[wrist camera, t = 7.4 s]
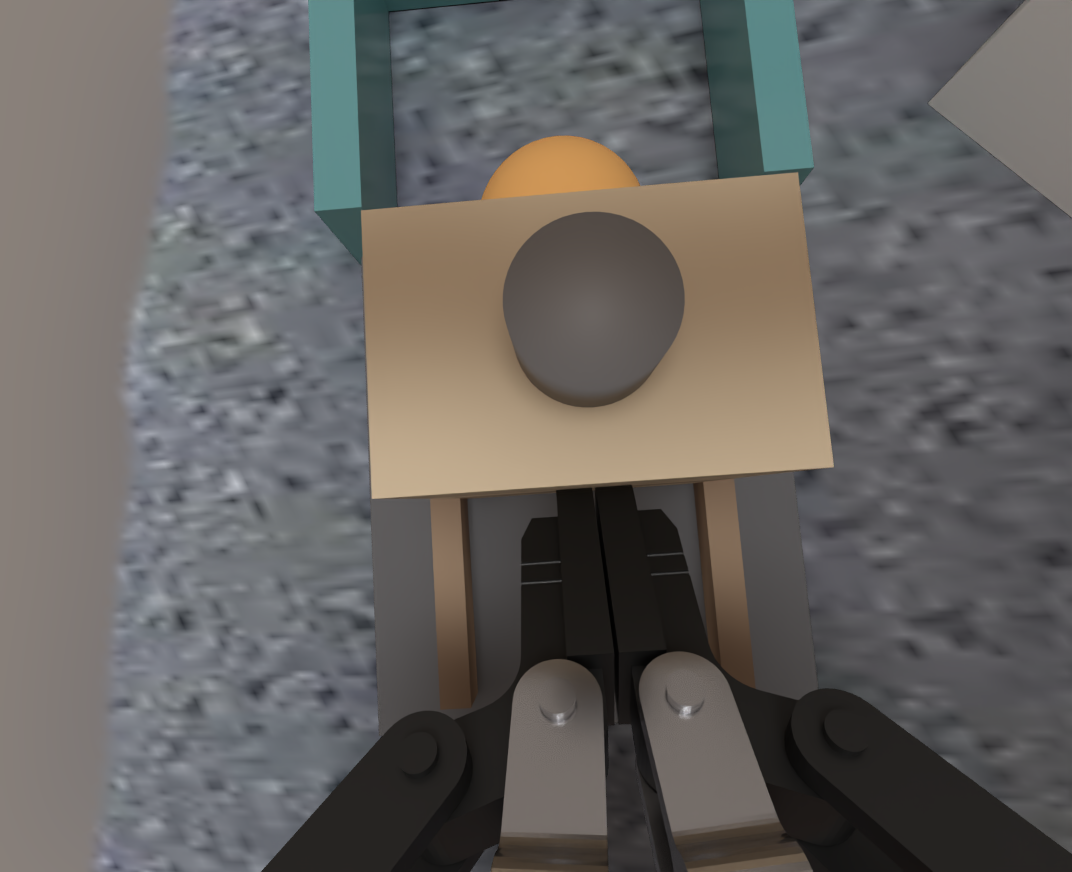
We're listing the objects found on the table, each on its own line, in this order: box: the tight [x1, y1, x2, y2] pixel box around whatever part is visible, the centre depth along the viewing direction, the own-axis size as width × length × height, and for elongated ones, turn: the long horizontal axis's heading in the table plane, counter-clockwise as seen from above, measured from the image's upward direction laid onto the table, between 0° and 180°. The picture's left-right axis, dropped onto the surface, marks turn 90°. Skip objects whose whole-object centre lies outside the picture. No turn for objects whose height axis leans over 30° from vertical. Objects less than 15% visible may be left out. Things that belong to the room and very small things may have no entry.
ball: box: [481, 136, 640, 200], centre depth 15 cm, size 4×4×4 cm
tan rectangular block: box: [361, 172, 834, 499], centre depth 12 cm, size 4×6×10 cm, turn 94°
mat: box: [361, 257, 818, 736], centre depth 17 cm, size 14×12×1 cm
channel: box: [430, 478, 756, 710], centre depth 16 cm, size 12×8×1 cm, turn 4°
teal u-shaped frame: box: [308, 0, 814, 265], centre depth 17 cm, size 10×12×4 cm
